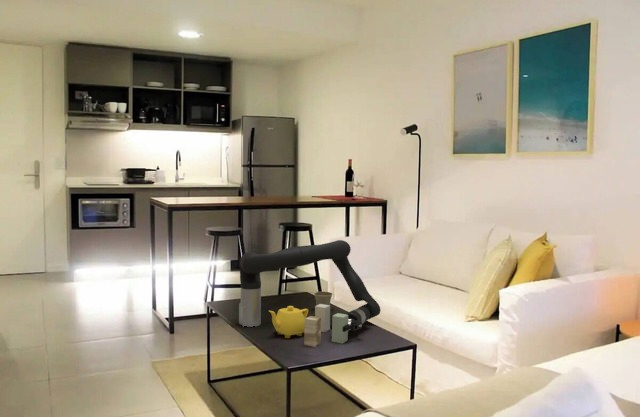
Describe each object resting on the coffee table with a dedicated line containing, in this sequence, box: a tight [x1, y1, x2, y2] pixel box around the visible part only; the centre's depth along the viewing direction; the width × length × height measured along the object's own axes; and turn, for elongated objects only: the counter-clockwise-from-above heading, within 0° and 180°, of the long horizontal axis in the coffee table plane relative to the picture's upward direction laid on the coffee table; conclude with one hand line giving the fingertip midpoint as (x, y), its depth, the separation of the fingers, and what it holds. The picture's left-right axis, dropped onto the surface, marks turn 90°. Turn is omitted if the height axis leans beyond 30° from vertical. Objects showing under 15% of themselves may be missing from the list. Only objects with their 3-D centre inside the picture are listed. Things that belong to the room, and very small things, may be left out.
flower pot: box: [313, 291, 333, 306], centre depth 284 cm, size 9×9×9 cm
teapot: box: [268, 305, 309, 339], centre depth 243 cm, size 13×20×12 cm
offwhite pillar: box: [314, 304, 331, 333], centre depth 251 cm, size 5×5×11 cm
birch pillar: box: [303, 315, 322, 348], centre depth 230 cm, size 5×5×11 cm
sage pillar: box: [331, 312, 349, 344], centre depth 235 cm, size 5×5×11 cm
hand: (337, 328), depth 233 cm, fingers closed on sage pillar, 5 cm apart
